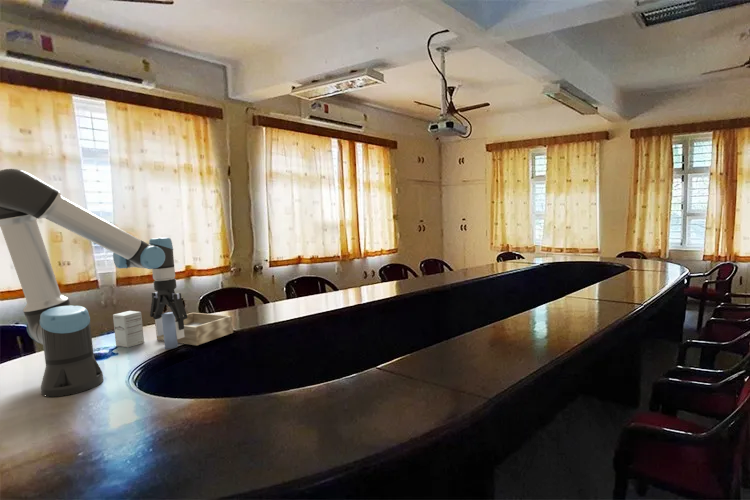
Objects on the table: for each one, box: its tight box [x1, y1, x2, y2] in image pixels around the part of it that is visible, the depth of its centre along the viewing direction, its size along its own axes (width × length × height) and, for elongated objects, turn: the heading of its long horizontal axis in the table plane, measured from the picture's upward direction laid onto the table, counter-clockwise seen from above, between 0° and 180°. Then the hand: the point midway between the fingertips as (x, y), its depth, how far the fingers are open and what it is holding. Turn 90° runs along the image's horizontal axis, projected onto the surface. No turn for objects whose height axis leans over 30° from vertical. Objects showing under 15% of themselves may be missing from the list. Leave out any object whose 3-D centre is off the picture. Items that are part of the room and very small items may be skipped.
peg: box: [161, 311, 179, 350], centre depth 163 cm, size 4×4×13 cm
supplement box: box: [112, 310, 145, 348], centre depth 171 cm, size 7×7×13 cm
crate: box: [156, 312, 234, 346], centre depth 177 cm, size 18×24×7 cm
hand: (170, 336), depth 163 cm, fingers open, 11 cm apart
